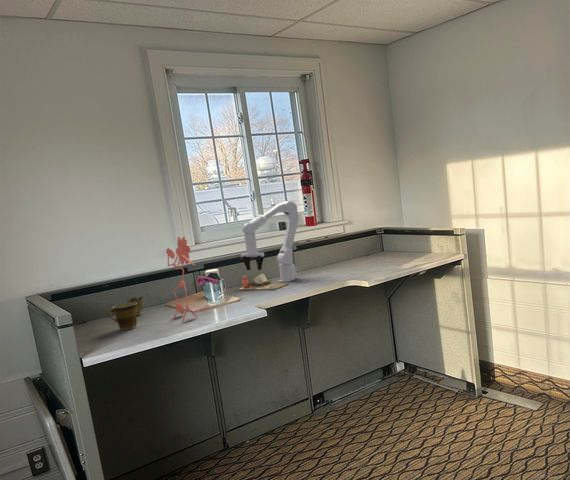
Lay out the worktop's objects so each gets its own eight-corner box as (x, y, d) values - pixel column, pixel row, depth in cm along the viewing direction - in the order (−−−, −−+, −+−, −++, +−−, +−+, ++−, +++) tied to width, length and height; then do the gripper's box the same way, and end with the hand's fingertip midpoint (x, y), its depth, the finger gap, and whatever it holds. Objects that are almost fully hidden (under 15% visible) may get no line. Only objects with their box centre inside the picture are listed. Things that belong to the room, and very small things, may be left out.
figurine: (189, 324, 206) (179, 238, 203) (164, 316, 227) (155, 238, 224) (222, 316, 215) (213, 233, 212) (195, 309, 236) (187, 234, 233)
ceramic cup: (137, 323, 219) (134, 300, 218) (142, 327, 210) (139, 304, 209) (106, 330, 213) (103, 307, 212) (110, 335, 204) (106, 310, 203)
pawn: (245, 286, 274) (244, 275, 273) (250, 286, 272) (249, 275, 271) (241, 288, 271) (240, 276, 270) (246, 288, 269) (245, 276, 269)
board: (254, 284, 282) (254, 280, 282) (289, 284, 269) (288, 280, 269) (239, 290, 271) (238, 286, 271) (274, 290, 258) (273, 286, 258)
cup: (126, 317, 234) (123, 300, 233) (133, 313, 241) (130, 297, 241) (141, 316, 233) (138, 299, 232) (147, 312, 240) (145, 296, 239)
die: (257, 277, 278) (263, 273, 276) (261, 284, 277) (267, 280, 275) (253, 278, 273) (259, 274, 271) (257, 286, 273) (263, 282, 271)
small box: (209, 294, 269) (206, 269, 268) (221, 292, 269) (218, 268, 268) (207, 297, 261) (204, 272, 260) (219, 295, 261) (216, 270, 260)
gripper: (236, 246, 275) (239, 271, 276) (257, 245, 267) (260, 271, 268) (244, 244, 281) (247, 269, 282) (265, 243, 273) (268, 268, 274)
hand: (254, 270), depth 276 cm, fingers open, 7 cm apart
